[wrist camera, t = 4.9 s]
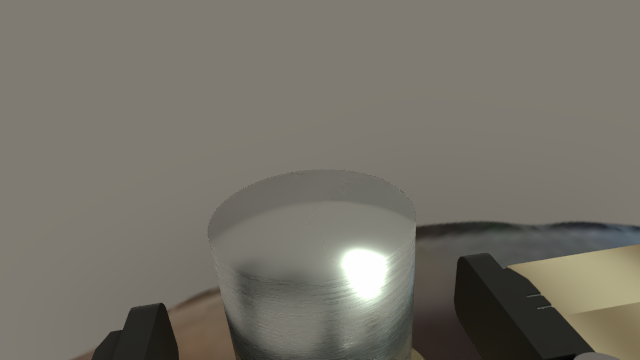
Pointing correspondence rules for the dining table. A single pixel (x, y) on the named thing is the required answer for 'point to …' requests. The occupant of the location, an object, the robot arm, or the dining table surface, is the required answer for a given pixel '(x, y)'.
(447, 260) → the dining table surface
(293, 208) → the pin
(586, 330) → the block
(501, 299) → the robot arm
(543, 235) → the dining table surface
